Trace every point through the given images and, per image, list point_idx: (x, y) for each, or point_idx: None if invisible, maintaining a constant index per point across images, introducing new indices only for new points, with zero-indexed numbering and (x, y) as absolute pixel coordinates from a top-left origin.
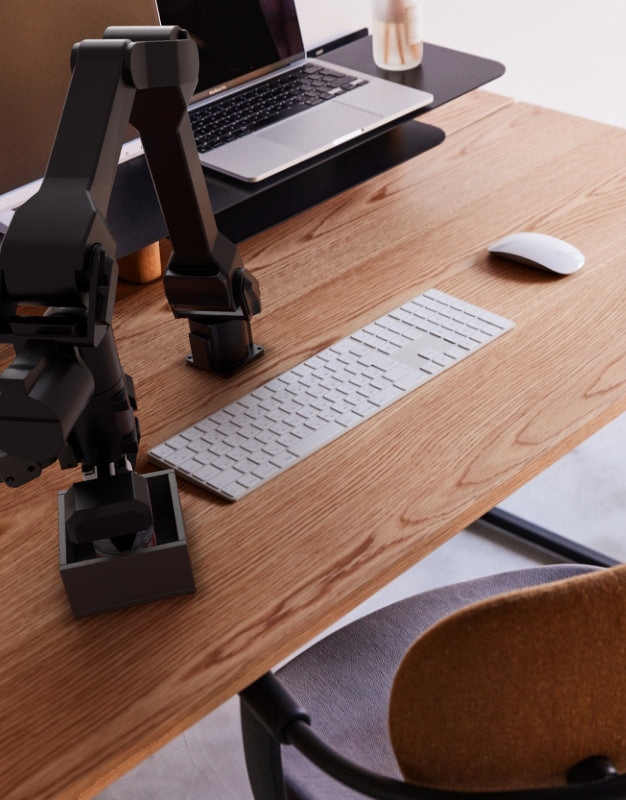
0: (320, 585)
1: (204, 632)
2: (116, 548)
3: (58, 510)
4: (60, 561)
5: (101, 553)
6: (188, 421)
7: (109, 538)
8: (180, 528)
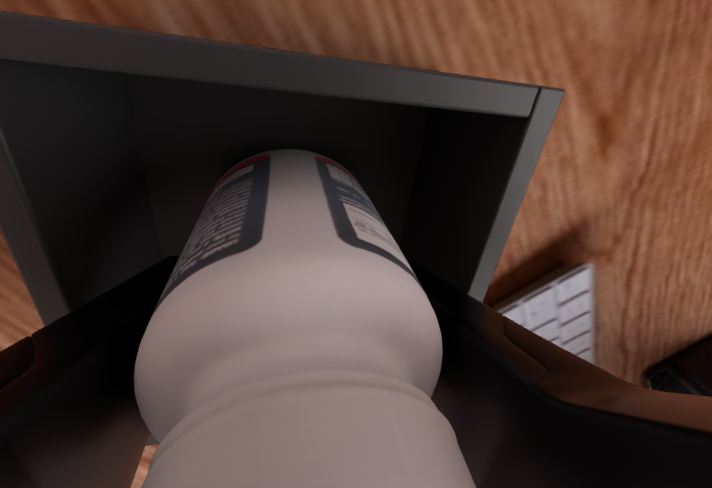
0: (148, 455)
1: (32, 319)
2: (153, 265)
3: (441, 76)
4: (2, 20)
5: (221, 185)
6: (606, 324)
7: (87, 304)
8: None
